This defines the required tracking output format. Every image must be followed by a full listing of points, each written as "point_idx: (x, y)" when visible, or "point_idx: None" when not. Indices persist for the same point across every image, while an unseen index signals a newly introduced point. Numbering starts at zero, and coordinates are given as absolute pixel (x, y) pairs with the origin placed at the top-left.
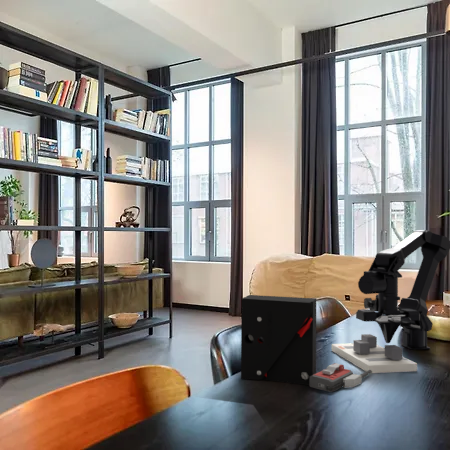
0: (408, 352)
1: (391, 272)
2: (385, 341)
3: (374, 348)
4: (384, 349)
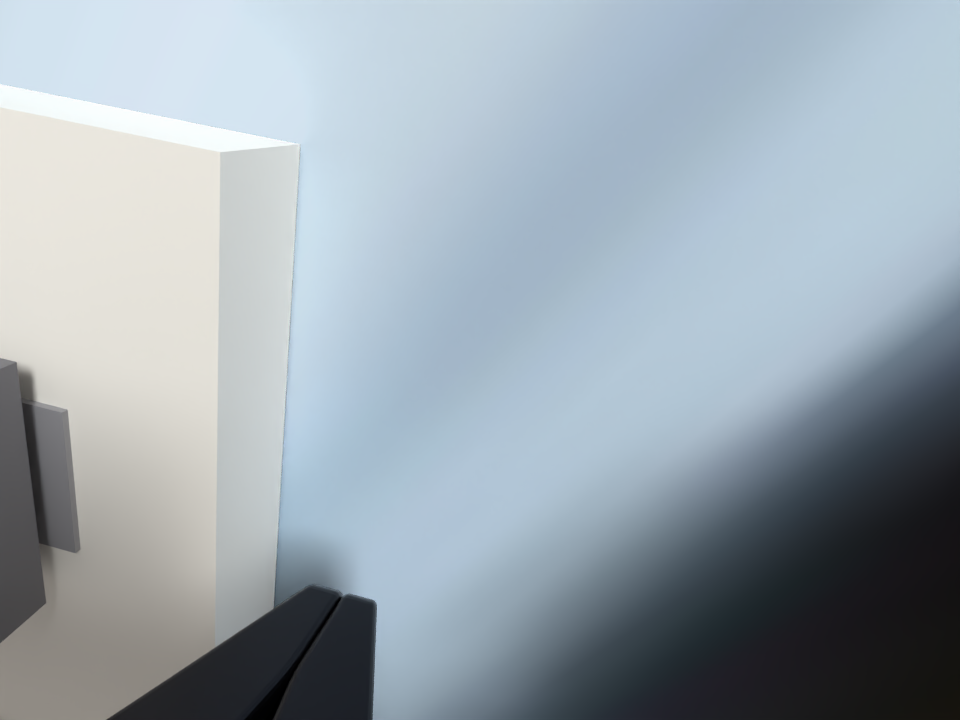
0: (825, 610)
1: None
2: (296, 598)
3: None
4: None
